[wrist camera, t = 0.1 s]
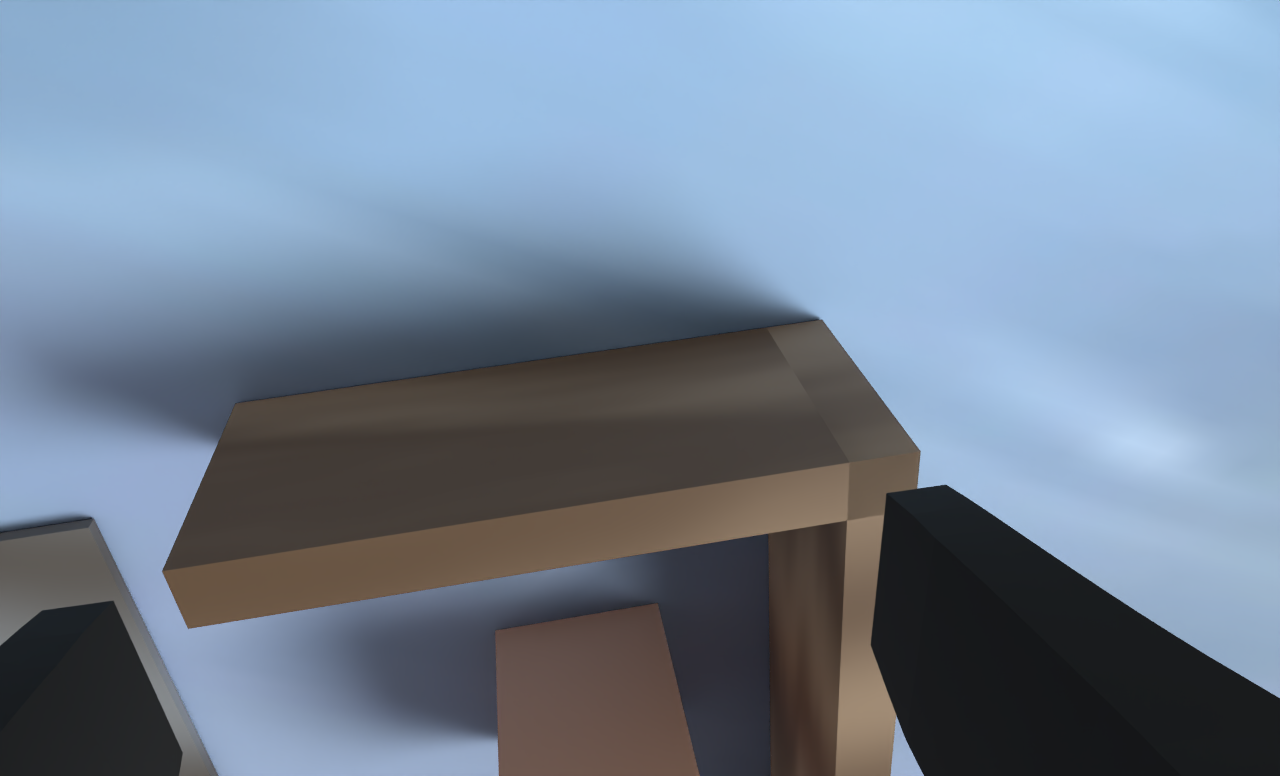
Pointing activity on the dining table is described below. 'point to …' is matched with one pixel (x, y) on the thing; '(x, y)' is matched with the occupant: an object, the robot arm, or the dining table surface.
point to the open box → (543, 508)
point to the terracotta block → (591, 698)
